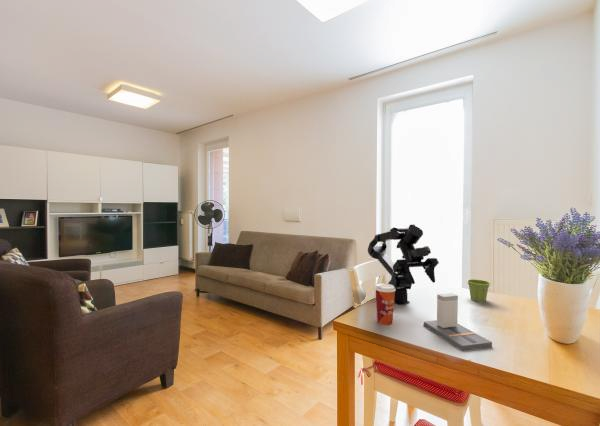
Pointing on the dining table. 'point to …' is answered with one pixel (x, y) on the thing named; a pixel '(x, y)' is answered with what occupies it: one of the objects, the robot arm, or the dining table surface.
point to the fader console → (459, 336)
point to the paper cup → (385, 303)
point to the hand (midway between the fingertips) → (424, 282)
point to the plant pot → (478, 289)
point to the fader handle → (447, 310)
